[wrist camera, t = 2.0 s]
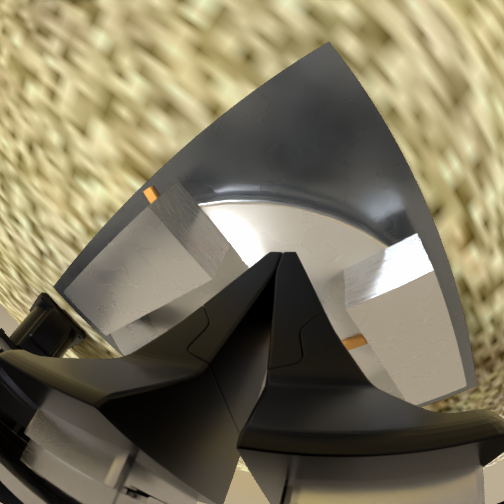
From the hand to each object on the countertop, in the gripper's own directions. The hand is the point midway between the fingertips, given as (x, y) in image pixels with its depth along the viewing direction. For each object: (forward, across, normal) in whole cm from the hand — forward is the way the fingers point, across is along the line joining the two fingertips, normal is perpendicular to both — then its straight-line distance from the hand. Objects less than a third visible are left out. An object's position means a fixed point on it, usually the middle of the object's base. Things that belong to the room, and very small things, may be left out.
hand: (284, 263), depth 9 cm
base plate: (+6, +3, +10) cm, 12 cm away
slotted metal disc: (+4, +3, +10) cm, 11 cm away
